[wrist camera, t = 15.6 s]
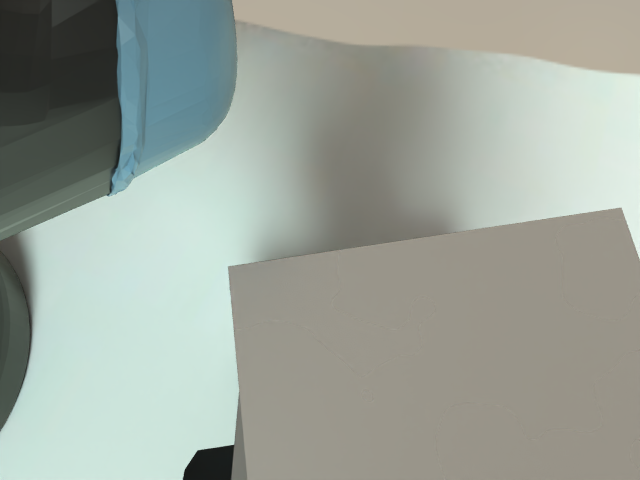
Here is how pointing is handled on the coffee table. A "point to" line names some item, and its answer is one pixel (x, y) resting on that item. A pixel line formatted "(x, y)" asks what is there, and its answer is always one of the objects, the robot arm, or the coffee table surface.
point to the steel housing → (446, 356)
